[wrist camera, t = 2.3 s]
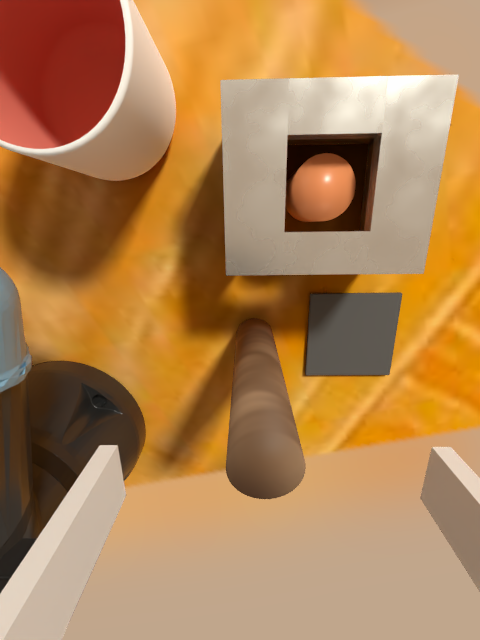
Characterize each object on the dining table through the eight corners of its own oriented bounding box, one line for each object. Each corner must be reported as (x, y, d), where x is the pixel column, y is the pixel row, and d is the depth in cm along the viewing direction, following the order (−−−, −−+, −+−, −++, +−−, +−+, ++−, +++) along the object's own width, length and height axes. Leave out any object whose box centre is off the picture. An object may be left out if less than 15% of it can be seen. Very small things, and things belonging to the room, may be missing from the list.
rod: (236, 352, 28) (227, 498, 13) (236, 318, 27) (224, 435, 12) (272, 351, 28) (303, 499, 13) (272, 318, 27) (307, 435, 12)
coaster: (305, 373, 29) (306, 375, 29) (310, 293, 27) (311, 294, 26) (387, 372, 29) (389, 374, 28) (399, 292, 26) (402, 293, 26)
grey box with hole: (231, 260, 26) (225, 275, 18) (228, 128, 23) (220, 80, 15) (370, 258, 26) (423, 273, 18) (386, 125, 22) (458, 74, 15)
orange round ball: (282, 222, 23) (291, 221, 19) (284, 167, 22) (293, 153, 17) (331, 221, 23) (352, 220, 18) (336, 166, 22) (358, 152, 17)
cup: (196, 63, 21) (158, -66, 12) (160, 201, 24) (105, 186, 15) (60, 4, 21) (-100, -186, 11) (39, 155, 24) (-101, 108, 14)
